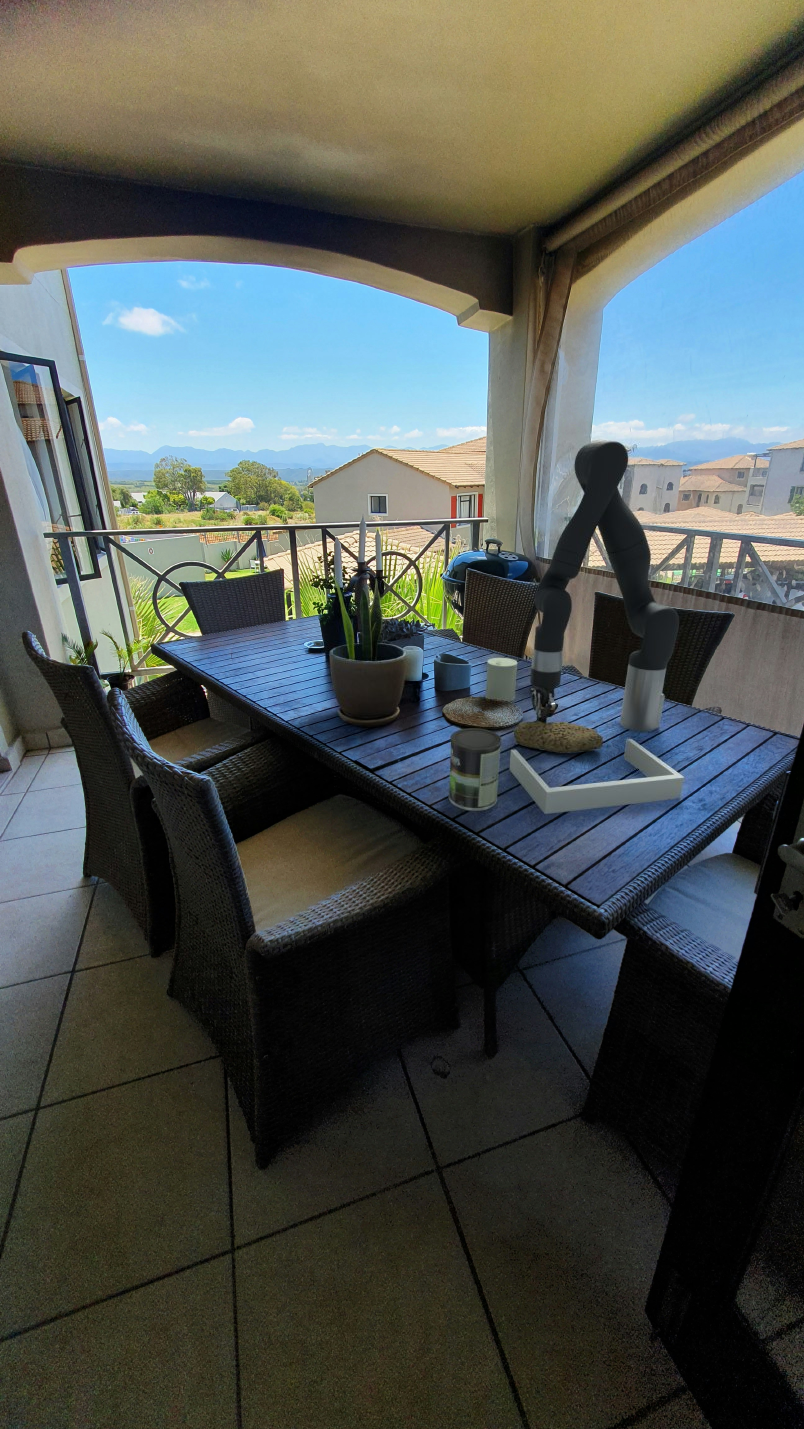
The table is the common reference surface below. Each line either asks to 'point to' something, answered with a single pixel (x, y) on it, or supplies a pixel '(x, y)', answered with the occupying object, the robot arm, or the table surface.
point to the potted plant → (367, 669)
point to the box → (603, 784)
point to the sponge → (557, 737)
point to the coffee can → (474, 768)
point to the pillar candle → (501, 679)
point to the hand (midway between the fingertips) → (540, 728)
